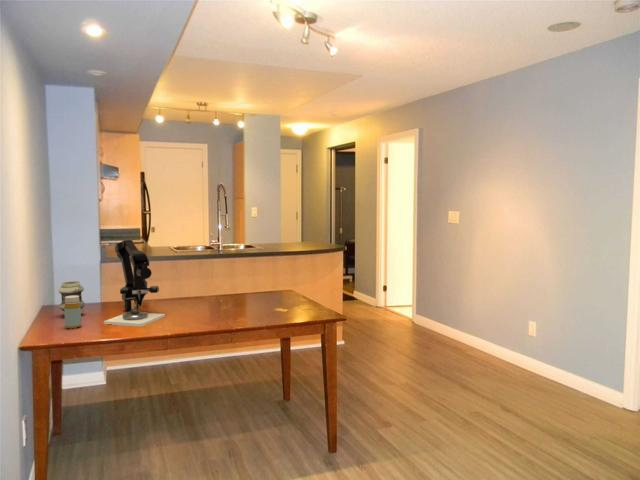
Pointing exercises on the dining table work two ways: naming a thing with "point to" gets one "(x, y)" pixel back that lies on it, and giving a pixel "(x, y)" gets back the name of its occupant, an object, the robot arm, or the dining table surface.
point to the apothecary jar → (71, 292)
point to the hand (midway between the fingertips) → (140, 306)
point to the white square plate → (135, 322)
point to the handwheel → (134, 312)
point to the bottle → (72, 311)
